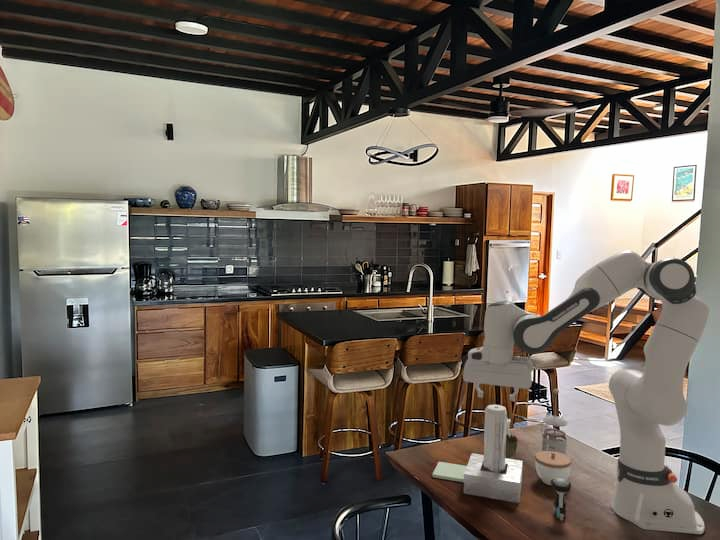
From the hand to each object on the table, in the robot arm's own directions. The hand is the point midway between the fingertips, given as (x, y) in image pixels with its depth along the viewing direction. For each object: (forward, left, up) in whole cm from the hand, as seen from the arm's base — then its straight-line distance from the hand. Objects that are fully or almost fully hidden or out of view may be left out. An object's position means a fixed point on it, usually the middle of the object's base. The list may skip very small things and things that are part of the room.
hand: (496, 399), depth 161 cm
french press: (-17, -28, -28) cm, 43 cm away
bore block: (0, 0, -27) cm, 27 cm away
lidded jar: (-17, -10, -28) cm, 34 cm away
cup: (-2, -21, -28) cm, 35 cm away
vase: (0, -33, -28) cm, 43 cm away
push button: (-19, +11, -28) cm, 35 cm away
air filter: (0, 0, -28) cm, 28 cm away
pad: (+14, -4, -27) cm, 31 cm away
